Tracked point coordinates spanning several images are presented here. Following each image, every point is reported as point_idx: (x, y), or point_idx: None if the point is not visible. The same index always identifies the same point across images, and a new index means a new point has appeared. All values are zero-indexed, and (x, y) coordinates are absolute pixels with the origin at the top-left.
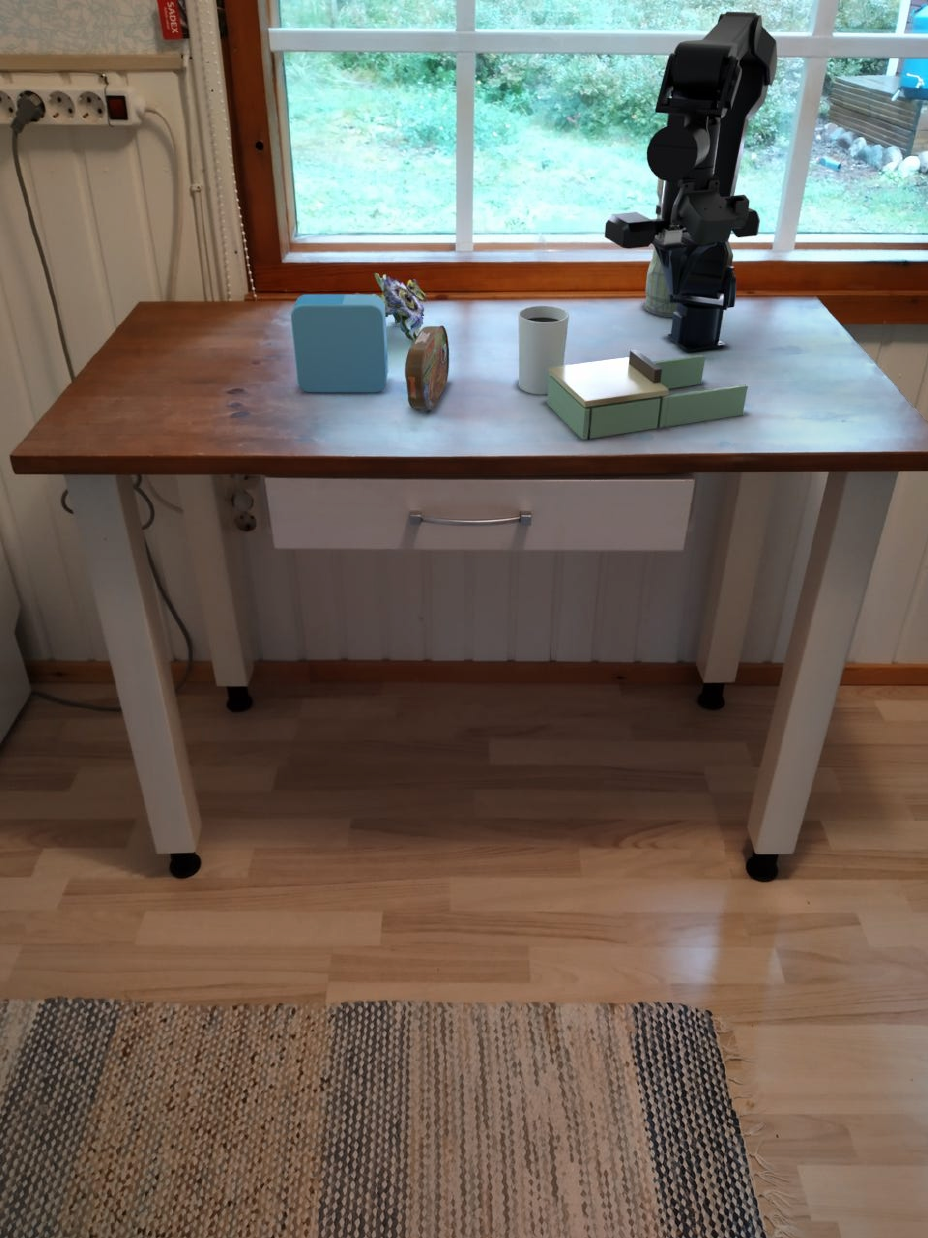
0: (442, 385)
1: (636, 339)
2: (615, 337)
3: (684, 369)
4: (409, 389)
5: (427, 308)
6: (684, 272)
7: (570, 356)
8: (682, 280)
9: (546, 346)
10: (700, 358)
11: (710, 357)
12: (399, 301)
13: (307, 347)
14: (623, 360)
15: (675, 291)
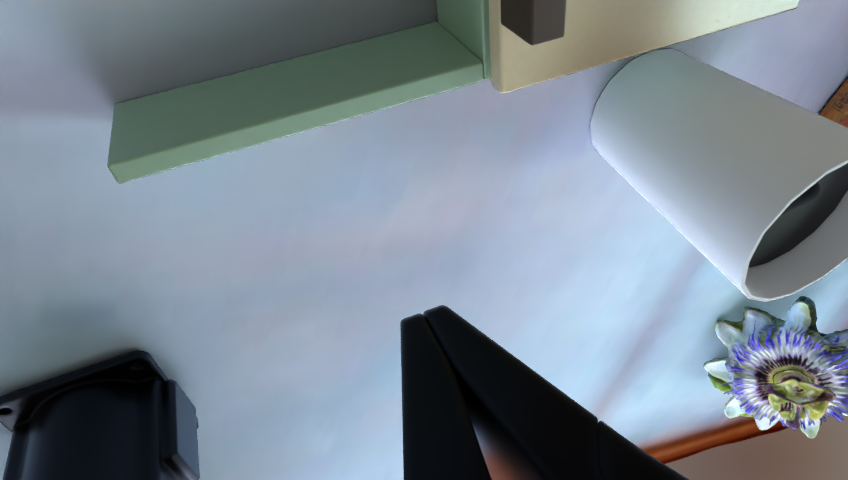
0: (839, 102)
1: (288, 398)
2: (341, 398)
3: (211, 112)
4: None
5: (632, 433)
6: (469, 456)
7: (489, 287)
8: (439, 397)
9: (793, 107)
10: (134, 152)
11: (54, 327)
12: (837, 358)
13: None
14: (536, 53)
15: (445, 323)
